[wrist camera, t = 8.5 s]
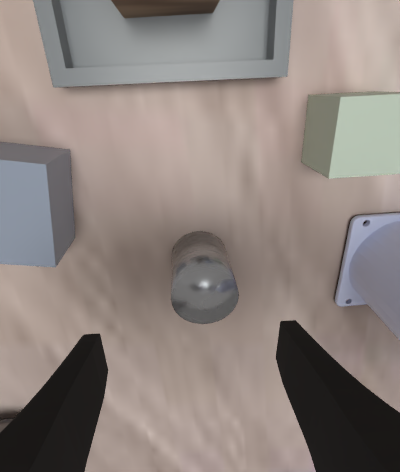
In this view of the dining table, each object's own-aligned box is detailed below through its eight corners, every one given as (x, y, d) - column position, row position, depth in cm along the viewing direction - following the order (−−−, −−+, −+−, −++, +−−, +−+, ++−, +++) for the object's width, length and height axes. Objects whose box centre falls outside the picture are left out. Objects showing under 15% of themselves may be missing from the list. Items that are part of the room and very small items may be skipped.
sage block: (372, 91, 18) (420, 92, 15) (359, 158, 20) (399, 173, 16) (307, 94, 18) (340, 97, 14) (300, 161, 20) (328, 178, 16)
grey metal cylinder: (225, 229, 22) (239, 266, 17) (225, 276, 23) (238, 320, 19) (169, 233, 21) (168, 272, 17) (174, 280, 23) (174, 326, 19)
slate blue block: (70, 149, 18) (45, 164, 15) (75, 236, 21) (55, 267, 17) (0, 141, 18) (-43, 155, 14) (14, 231, 21) (-19, 262, 17)
